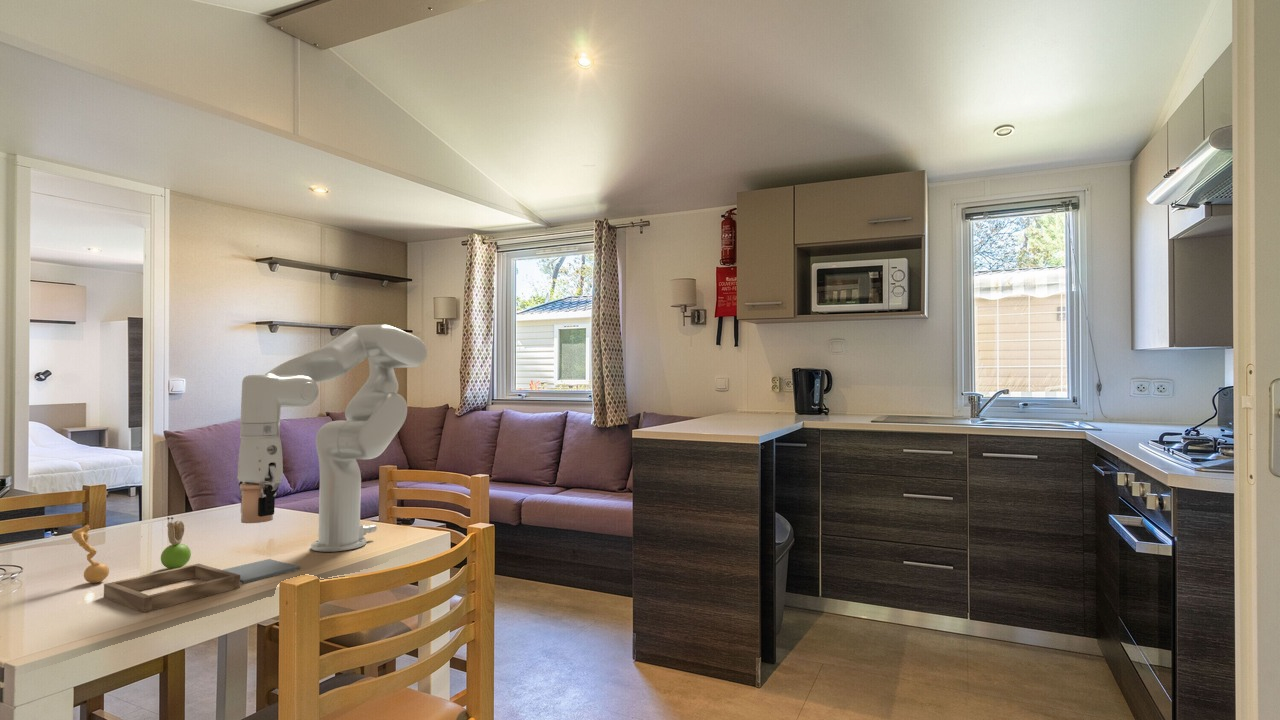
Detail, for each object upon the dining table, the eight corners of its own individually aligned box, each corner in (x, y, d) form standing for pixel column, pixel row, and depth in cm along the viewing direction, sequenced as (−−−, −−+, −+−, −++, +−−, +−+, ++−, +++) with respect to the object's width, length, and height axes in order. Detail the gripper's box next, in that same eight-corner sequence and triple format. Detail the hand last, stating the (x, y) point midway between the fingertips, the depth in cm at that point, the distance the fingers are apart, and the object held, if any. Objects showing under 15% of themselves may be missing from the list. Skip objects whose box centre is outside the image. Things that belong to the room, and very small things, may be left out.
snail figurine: (153, 574, 137) (155, 517, 137) (166, 566, 143) (168, 512, 144) (182, 572, 138) (184, 516, 139) (194, 564, 145) (196, 511, 145)
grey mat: (269, 561, 147) (269, 558, 147) (299, 569, 141) (300, 566, 141) (212, 574, 136) (212, 571, 136) (243, 583, 130) (243, 580, 130)
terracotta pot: (264, 516, 143) (265, 480, 144) (281, 519, 140) (282, 482, 140) (232, 521, 137) (233, 483, 138) (249, 524, 134) (250, 486, 134)
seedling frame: (198, 575, 136) (198, 563, 136) (240, 587, 128) (240, 574, 128) (103, 597, 122) (104, 584, 122) (143, 612, 114) (144, 598, 114)
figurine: (111, 584, 130) (113, 525, 130) (72, 591, 125) (74, 530, 126) (105, 576, 135) (107, 519, 136) (67, 582, 131) (69, 523, 131)
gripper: (300, 431, 139) (297, 515, 138) (255, 429, 147) (253, 507, 146) (265, 433, 132) (262, 521, 131) (221, 430, 141) (218, 512, 140)
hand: (257, 513), depth 139 cm, fingers closed on terracotta pot, 6 cm apart
